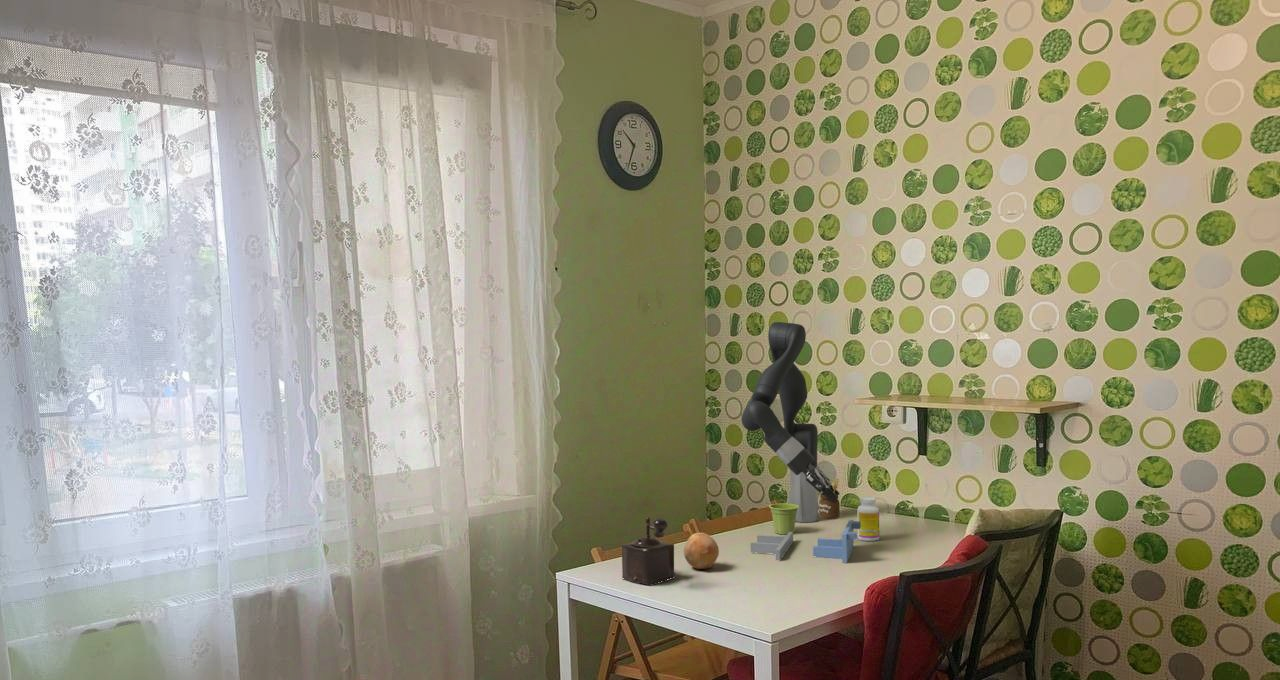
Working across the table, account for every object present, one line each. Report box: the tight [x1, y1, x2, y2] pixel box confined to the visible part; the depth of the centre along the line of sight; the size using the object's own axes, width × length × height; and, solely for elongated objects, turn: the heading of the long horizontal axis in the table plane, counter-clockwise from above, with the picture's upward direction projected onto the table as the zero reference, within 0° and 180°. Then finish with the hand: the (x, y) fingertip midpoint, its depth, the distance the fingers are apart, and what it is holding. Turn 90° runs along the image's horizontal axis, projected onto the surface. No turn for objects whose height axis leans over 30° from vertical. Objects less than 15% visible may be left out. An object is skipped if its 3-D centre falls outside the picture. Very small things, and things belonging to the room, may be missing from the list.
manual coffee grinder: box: [621, 516, 675, 586], centre depth 245 cm, size 16×11×18 cm
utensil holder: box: [818, 478, 841, 520], centre depth 270 cm, size 6×6×12 cm
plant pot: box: [768, 503, 799, 535], centre depth 298 cm, size 9×9×9 cm
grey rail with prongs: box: [750, 532, 794, 561], centre depth 276 cm, size 10×24×3 cm, turn 161°
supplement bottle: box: [856, 496, 880, 542], centre depth 286 cm, size 7×7×13 cm
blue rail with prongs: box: [812, 519, 861, 564], centre depth 269 cm, size 12×20×8 cm, turn 162°
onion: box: [683, 532, 720, 570], centre depth 256 cm, size 10×10×10 cm
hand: (835, 497), depth 269 cm, fingers closed on utensil holder, 5 cm apart
